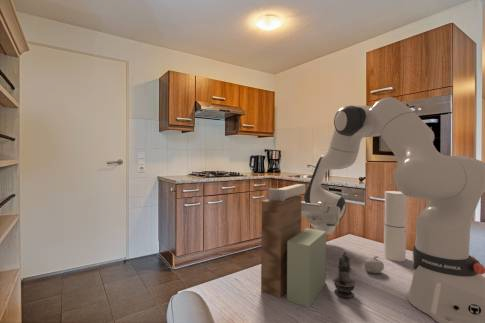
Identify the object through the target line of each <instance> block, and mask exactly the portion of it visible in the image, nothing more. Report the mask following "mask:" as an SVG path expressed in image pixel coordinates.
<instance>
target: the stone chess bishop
mask: <svg viewBox="0 0 485 323" xmlns="http://www.w3.org/2000/svg"><path fill="white" fill-rule="evenodd" d="M346 253H347V252H346V251H344V252H343V254H340V255H339V257H338V265H337V268H338V274H337V276H335V277H333V279H332V281H333V284H334V286H335V288H336V289H334V291H333V293H334V296H336V297H338V298H340V299H344V300H351V299H354V297H355V294H354V292H353V290H354V289H355V286H356V280H354V279H352V278H351V271H352V268H351V259H350V258H351V257H350V256H349V255H347V254H346Z"/></svg>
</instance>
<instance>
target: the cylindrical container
mask: <svg viewBox="0 0 485 323" xmlns="http://www.w3.org/2000/svg"><path fill="white" fill-rule="evenodd" d="M407 199H408V196H406V195H404V194H403V193H401V192H400V191H399V190H385V191H384V223H383V225H384V228H383V229H384V230H383V257H384V258H385V259H387V260H390V261H394V262H405V261H406V253H407V252H406V251H407V250H406V248H407V246H406V245H407V208H408V207H407V204H408V203H407V201H408V200H407Z"/></svg>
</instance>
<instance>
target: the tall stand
mask: <svg viewBox="0 0 485 323" xmlns="http://www.w3.org/2000/svg"><path fill="white" fill-rule="evenodd" d="M268 199H269V198H267V199H264V200H261V226H260V227H261V231H260V232H261V233H260V234H261V235H260V236H261V244H260V245H261V247H260V249H261V250H260V251H261V255H260V256H261V257H260V262H261V263H260V264H261V265H260V270H261V271H260V274H261V275H260V292H261V293H265V294H267V295H268V294H269V295H270V296H273V297H276V298H281V297H283V295H284V294H285V293H287V241H288V240H290V239H291V238H293V237H294V236H296V235H297V234H299V233H300V232H302V216H301V202H302V195H297V196H294V197H291V198H288V199H285V201H276V200H268Z"/></svg>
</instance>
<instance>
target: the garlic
mask: <svg viewBox="0 0 485 323" xmlns="http://www.w3.org/2000/svg"><path fill="white" fill-rule="evenodd" d="M378 258H379V256H377V255H376V256H374V257H369V258H366V259H365V260H364V262H363V265H364V270H366V271H367V273H371V274H379V273H382V271H384V268H385V266H384V265H385V264H384V263H383V262H384V261H382V260H379V259H378Z"/></svg>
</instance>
